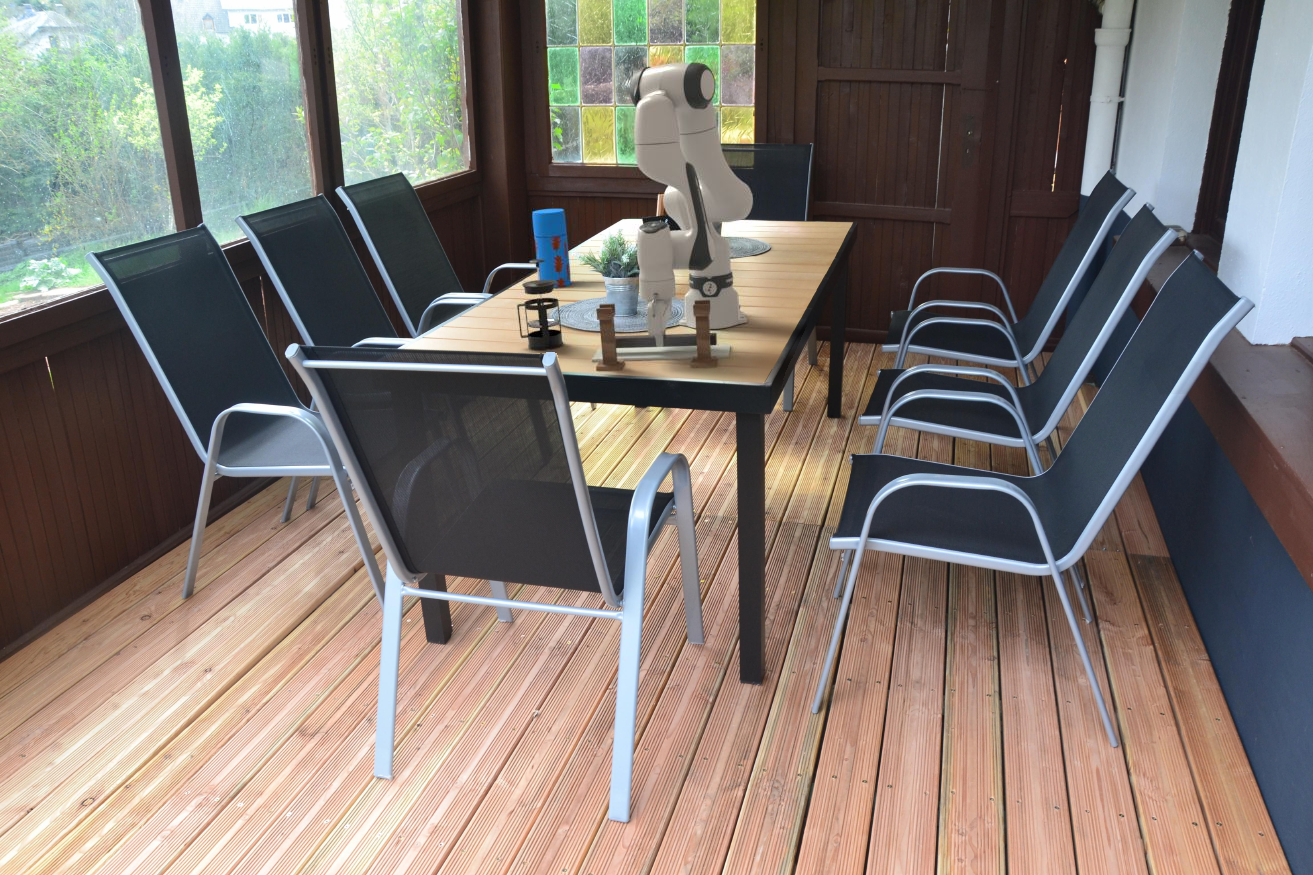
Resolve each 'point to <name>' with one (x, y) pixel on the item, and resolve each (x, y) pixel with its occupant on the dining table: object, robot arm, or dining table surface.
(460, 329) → the dining table surface
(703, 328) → the stands
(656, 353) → the mat
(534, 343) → the french press
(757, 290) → the dining table surface
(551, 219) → the thermos
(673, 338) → the rail
